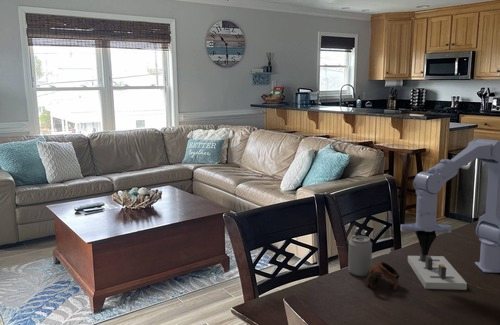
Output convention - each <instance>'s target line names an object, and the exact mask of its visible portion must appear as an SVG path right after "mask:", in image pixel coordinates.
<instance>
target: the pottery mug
mask: <svg viewBox="0 0 500 325" xmlns="http://www.w3.org/2000/svg"><path fill="white" fill-rule="evenodd" d="M400 276H401V275H400V273H398V271H397V270H396V269H395V268H394V267H392V266H391V265H390V264H388V263H386V262H384V261H379V262H378V263H377V264H373V265H371V268H370V269H369V271H368V272H367V275H366V276H365V279H364V282H363V284H364V285H365V287H366V288H369V287H370V288H372V289H377V287H378V285H379V283H380V282H381V280H382V279H383V277H384V278H386V279H388V280H390V281H392V282H394V283H393V287H392V289H393V290H396V289H397V288H398V285H399V278H400Z"/></svg>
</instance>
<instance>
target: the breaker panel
mask: <svg viewBox="0 0 500 325" xmlns="http://www.w3.org/2000/svg"><path fill="white" fill-rule="evenodd" d="M407 262H408V264H409V266H410V267H411V268H412V270H413V272H414V274H415V275H416V277H417V278H418V279H419V281H420V283H421V284H422V286H423V287H424V289H425V290H426V289H427V290H428V289H430V290H433V289H434V290H459V291H461V290H463V291H464V290H466V291H467V289H468V283H467V282H466V280H465V279H464V278H463V277H462V275H461V274H460V273H459V272H458V271H457V270H456V269H455V268H454V267H453V265H452V264H451V263H450V262H449V261H448V260H447V258H445V256H442V255H440V256H439V255H437V256H436V255H422V253H421V248H419V255H407ZM440 264H443V265H444V266H445V267H446V278H441V277H440V276H439V275H438V270H439V265H440Z"/></svg>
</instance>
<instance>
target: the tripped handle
mask: <svg viewBox="0 0 500 325" xmlns="http://www.w3.org/2000/svg"><path fill="white" fill-rule="evenodd" d="M438 275H439V276H440V277H441V278H446V267H445V266H444V265H443V264H440V265H439V270H438Z"/></svg>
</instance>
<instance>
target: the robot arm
mask: <svg viewBox="0 0 500 325" xmlns="http://www.w3.org/2000/svg"><path fill="white" fill-rule="evenodd" d="M476 159H478V160H480V161H482V162H483V163H484V164H485V165H486V166H487V167H488V172H487V174H488V176H487V187H486V199H485V213H483V215H481V216H479V217H478V222H477V225H476V227H475V234H476V236H477V237H478V240H479V241H480V253H479V254H480V255H479V261H475V262H474V264H475V265H476V266H477V267H478V268H479V269H480V270H481V271H482V272H483V273H500V140H494V139H487V138H486V139H485V138H481V137H476V138H474V139H473V140H472V141H469V142H468V144H467V147H466V148H463V150H461V151H460V152H459V153H458V154H456V155H455V156H454V157H452V158H451V159H448V158H447V159H446V158H444V159H443V158H442V159H440V160H439V163H436V164H435V165H434V166H432V167H429V168H428V170H426V171H420V172H418V173H417V174H416V175H415V177H414V178H413V179H414V180H413V181H412V186H413V188H415V194H416V209H415V210H416V212H415V216H416V217H415V222H414V223H403V224H402V223H401V224H400V231H401V233H406V232H408V233H409V232H413V233H415V236H416V238H417V240H418V242H419V246H420V249H421V253H422V255H426V256H429V251H430V249H431V246H432V244H433V243H434V241H435V240H436V238H437V233H448V234H451V233H452V226H451V225H450V224H442V223H441V224H439V223H437V209H438V207H437V206H438V193H439V192H440V191H441V190H442V188H443V186H444V185H445V184H446V183H447V182H448V181H449V180H451V179H453V177H455V176H456V175H457V174H458V173H459V169H461V168H463V167H464V166H466V165H467V164H469V163H472V162H473V161H475V160H476Z"/></svg>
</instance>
